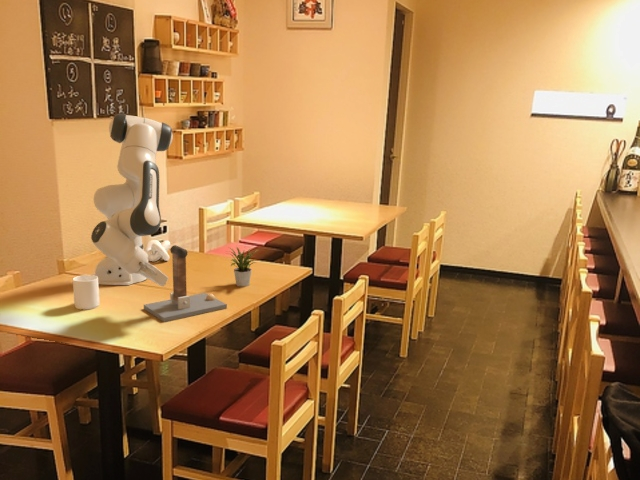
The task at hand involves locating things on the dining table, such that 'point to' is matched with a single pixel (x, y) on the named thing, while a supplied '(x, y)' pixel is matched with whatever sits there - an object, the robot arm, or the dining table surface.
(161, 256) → the white knot sculpture
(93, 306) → the mug
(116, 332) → the dining table surface
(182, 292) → the lever
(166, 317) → the press base
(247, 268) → the house plant
